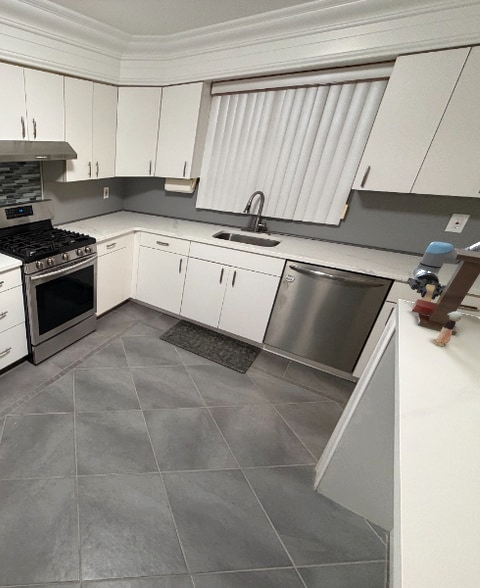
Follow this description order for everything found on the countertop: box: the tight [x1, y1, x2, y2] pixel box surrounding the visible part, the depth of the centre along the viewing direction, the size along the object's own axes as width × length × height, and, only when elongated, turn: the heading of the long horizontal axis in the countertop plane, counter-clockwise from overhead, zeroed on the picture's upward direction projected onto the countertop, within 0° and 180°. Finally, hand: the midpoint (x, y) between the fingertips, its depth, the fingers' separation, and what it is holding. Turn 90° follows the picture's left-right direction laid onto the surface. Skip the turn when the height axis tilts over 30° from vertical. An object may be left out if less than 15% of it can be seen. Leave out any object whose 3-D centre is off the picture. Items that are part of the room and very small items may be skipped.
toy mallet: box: [411, 284, 436, 316], centre depth 129 cm, size 15×6×4 cm
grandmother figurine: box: [432, 311, 464, 347], centre depth 108 cm, size 8×4×13 cm, turn 137°
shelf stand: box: [416, 248, 480, 336], centre depth 116 cm, size 12×10×29 cm
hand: (429, 295), depth 128 cm, fingers closed on toy mallet, 2 cm apart
